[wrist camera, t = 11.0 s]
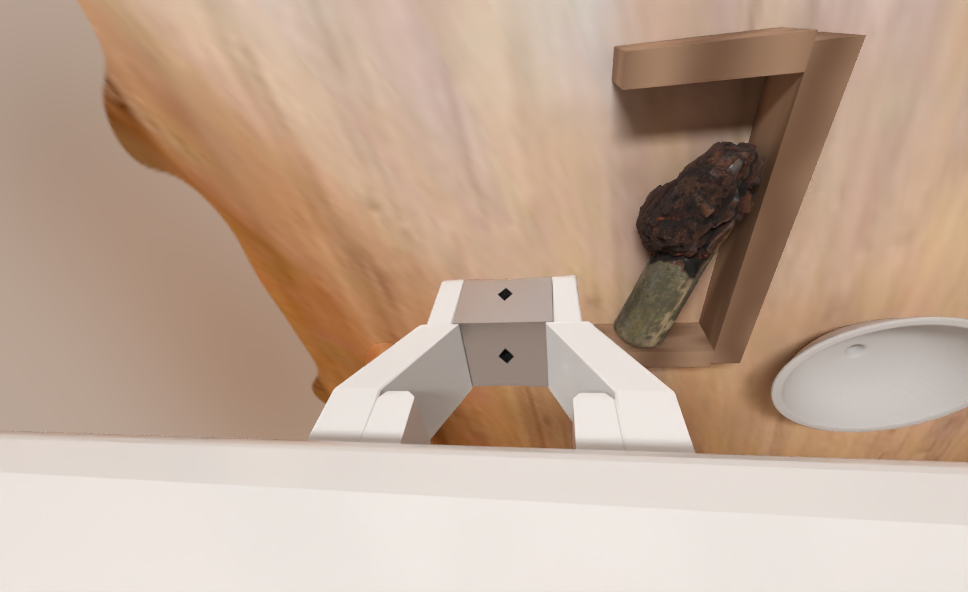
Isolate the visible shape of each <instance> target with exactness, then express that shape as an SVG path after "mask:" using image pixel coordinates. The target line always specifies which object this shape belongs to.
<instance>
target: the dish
mask: <svg viewBox="0 0 968 592" xmlns="http://www.w3.org/2000/svg"><path fill="white" fill-rule="evenodd" d="M853 345H854V346H853ZM850 346H853V347H850ZM849 347H850V348H849ZM771 399H772V402H773V404H774V406H775V408H776V409H777V410H778V411H779V412H780V413H781V414H782V415H783V416H785V417H786V418H788V419H789V420H791V421H793V422H795V423H798V424H800V425H803V426H807V427H810V428H815V429H820V430H827V431H837V432H869V431H880V430H888V429H895V428H901V427H906V426H911V425H916V424H920V423H924V422H927V421H931V420H934V419H937V418H940V417H943V416H946V415H949V414H952V413H954V412H957V411H959V410H961V409H964V408H966V407H968V319H963V318H954V317H914V318H889V319H879V320H872V321H866V322H861V323H856V324H853V325H849V326H846V327H842V328H839V329H837V330H834V331H832V332H829V333H827V334H825V335H823V336H821V337H819V338H817V339H816V340H814V341H812V342H811V343H809V344H808V345H806V346H805V347H804V348H803V349H801V350H800V351H799V352H798V353H797V354H796V355H795V356H794V357H793V358H792V360H791V361H789V362H788V363H787V364H786V365H785V366H784V367H783V368H782V369H781V370H780V371H779V373H778V374H777V376H776V377H775V379H774V381H773V383H772V386H771Z"/></svg>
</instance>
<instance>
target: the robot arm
mask: <svg viewBox="0 0 968 592" xmlns="http://www.w3.org/2000/svg"><path fill="white" fill-rule="evenodd" d="M508 385H510V386H541V387H549V390H550V391H551V392H552V394H553V395H554V397H555V398H556V399H557V401H558V402H559V404H560V405H561V407H562V408H563V409H564V411H565V412H566V414H567V415H568V416H569V418H570V419H571V421H572V422H573V427H572V449H554V448H524V447H493V446H462V445H432V444H431V442H430V439H431V438H432V437H433V436H434V434H435V433H436V432H437V431H438V429H439V428H440V427H441V426H442V425H443V423H444V422H445V421H446V420H447V419H448V417H449V416H450V415H451V414H452V413H453V411H454V410H455V409H456V408H457V406H458V405H459V404H460V403H461V402H462V400H463V399H464V398H465V397H466V396H467V394H468V393H469V392H470V391H471V390H472V386H508ZM0 592H968V462H950V461H919V460H889V459H858V458H827V457H797V456H767V455H737V454H706V453H695V451H694V448H693V445H692V442H691V439H690V436H689V433H688V430H687V427H686V424H685V422H684V419H683V416H682V413H681V410H680V407H679V404H678V401H677V398H676V395H675V392H674V391H672V390H671V389H670V388H669V387H668V386H666V385H665V384H664V383H663V382H661V381H660V380H659V379H658V378H657V377H655V376H654V375H653V374H652V373H651V372H649V371H648V370H647V369H646V368H645V367H643V366H642V365H641V364H640V363H639V362H637V361H636V360H635V359H634V358H633V357H631V356H630V355H629V354H628V353H626V352H625V351H624V350H623V349H622V348H620V347H619V346H618V345H617V344H616V343H614V342H613V341H612V340H611V339H610V338H608V337H607V336H606V335H605V334H604V333H602V332H601V331H600V330H599V329H598V328H596V327H595V326H594V325H593V324H591V323H590V322H582V317H581V309H580V302H579V294H578V286H577V279H576V276H575V275H565V276H552V277H540V278H523V279H468V280H464V279H463V280H445V281H443V282H442V283H441V286H440V289H439V291H438V294H437V297H436V300H435V303H434V306H433V308H432V311H431V314H430V317H429V320H428V323H427V325H420V326H418V327H417V328H416V329H414V330H413V331H412V332H410V333H409V334H408V335H406V336H405V337H404V338H402V339H401V340H400V341H398V342H397V343H395V344H394V345H393V346H391V347H390V348H389V349H387V350H386V351H385V352H383V353H382V354H381V355H379V356H378V357H377V358H375V359H374V360H373V361H371V362H370V363H368V364H367V365H366V366H364V367H363V368H362V369H360V370H359V371H358V372H356V373H355V374H354V375H352V376H351V377H350V378H348V379H347V380H345V381H344V382H343V383H341V384H340V385H339V386H337V387H336V388H335V389H334V390H333V392H332V394H331V396H330V398H329V400H328V402H327V403H326V405H325V407H324V409H323V411H322V413H321V415H320V417H319V418H318V420H317V422H316V424H315V426H314V428H313V430H312V432H311V433H310V435H309V437H308V439H307V440H279V439H248V438H247V439H245V438H217V437H216V438H215V437H186V436H154V435H125V434H124V435H123V434H93V433H63V432H60V433H59V432H32V431H0Z"/></svg>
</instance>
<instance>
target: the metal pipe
mask: <svg viewBox="0 0 968 592" xmlns="http://www.w3.org/2000/svg"><path fill="white" fill-rule="evenodd" d="M756 146H757V145H756V144H753V143H744V142H742V143H739V144H738V145H735V144H733V143H732V142H721V143H720V142H717V143H715V144H714V145H713V146H712V147H711V148H710V149H709V150H708V151H707V152H706V153H704V154H703V155H702V156H700V157H698V158H697V159H696V160H694V161H693V162H691V163H690V164H688V165H687V166H686V167H685V168H684V170H683V171H682V172H681V173H680V174H679V176H678V178H677V179H675V180H673V181H672V182H669V183H666V184H665V185H663V186H661V185H659V186H658V187H657V188H655V189H654V190H653V191H652V192H651V193H650V194H649V195H648V196H647V199H646V201H645V203H644V204H643V205H642V206H641V207H640V213H639V217H638V219H637V222H636V226H637V229H638V233H639V235H640V238H641V239H642V244H643V246H644V247H645V248H646V249H647V250H649V251H651V252H654V255H653V256H652V257H651V258H650V260H649V261H648V263H647V265H646V267H645V269H644V271H643V273H642V274H641V276H640V278H639V280H638V282H637V283H636V285H635V287H634V289H633V291H632V293H631V295H630V296H629V298H628V300H627V301H626V303H625V305H624V307H623V308H622V310H621V312H620V314H619V315H618V317H617V319H616V321H615V323H614V329H615V331H616V333H617V334H618V335H619V336H620V337H621V338H622V339H623V340H625V341H626V342H627V343H629V344H631V345H633V346H636V347H655V346H659V345H660V344H661V343H662V342H663V341H664V339H665V337H666V335H667V333H668V331H669V330H670V328H671V326H672V325H673V323H674V321H675V320H676V318H677V316H678V314H679V313H680V311H681V309H682V307H683V306H684V304H685V302H686V301H687V299H688V297H689V295H690V294H691V292H692V290H693V288H694V287H695V285H696V284H697V282H698V280H699V278H700V276H701V274H702V273H703V271H704V270H705V268H706V266H707V265H708V263H709V261H710V260H711V258H712V256H713V255H714V253H715V251H716V250H717V248H718V246H719V245H720V244H722V243H723V241H724V240H725V239H726V238H727V237H728V235H729V234H730V232H731V230H732V229H733V228H734V227H735V225H736V224H737V223H738V222H739V221H741V220H742V218H743V216H744V215H745V214H748V213H750V211H751V207H752V206H753V205H754V203H753V201H752V199H753V198H754V196H755V195H753V194H751V189H752V188H753V186H758V185H759V183H760V182H761V180H762V176H761V174H760V171H761V169H762V166H763V163H764V160H765V156H762V157H761V159H760V158H759V156H758V154H757V152H756V150H755V149H756Z"/></svg>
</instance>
